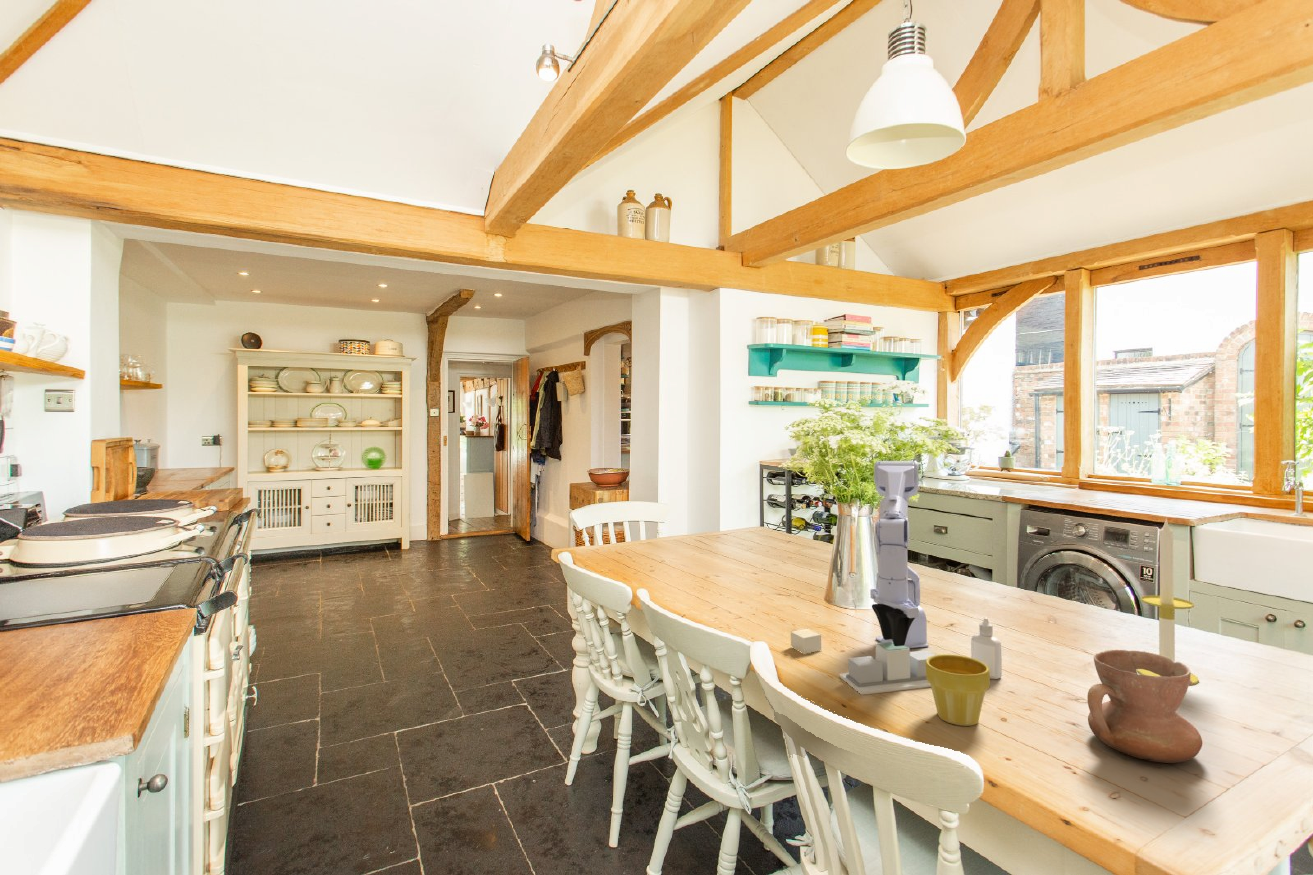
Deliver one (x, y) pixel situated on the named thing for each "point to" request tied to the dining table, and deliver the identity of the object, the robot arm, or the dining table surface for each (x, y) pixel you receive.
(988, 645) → the eye dropper bottle
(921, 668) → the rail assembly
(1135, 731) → the ceramic jug
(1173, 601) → the candle
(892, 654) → the block
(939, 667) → the plant pot
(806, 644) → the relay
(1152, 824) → the dining table surface
